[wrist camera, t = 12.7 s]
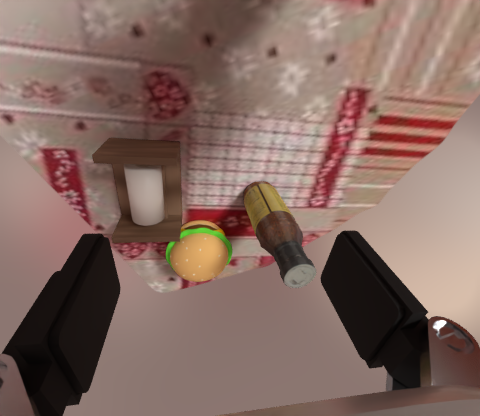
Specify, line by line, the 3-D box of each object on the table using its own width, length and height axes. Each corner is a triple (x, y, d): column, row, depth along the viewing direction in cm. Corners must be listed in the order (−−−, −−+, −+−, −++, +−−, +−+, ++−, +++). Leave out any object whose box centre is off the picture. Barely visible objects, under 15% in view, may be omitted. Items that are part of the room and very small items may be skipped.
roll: (129, 156, 36) (118, 169, 32) (163, 158, 37) (157, 171, 33) (136, 208, 41) (128, 225, 37) (167, 209, 42) (162, 226, 38)
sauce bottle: (246, 212, 46) (273, 302, 30) (238, 184, 43) (264, 269, 26) (279, 202, 46) (324, 287, 30) (274, 174, 43) (322, 252, 26)
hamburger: (169, 260, 50) (164, 295, 43) (167, 212, 44) (160, 244, 37) (226, 259, 52) (231, 293, 45) (232, 214, 46) (238, 244, 39)
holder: (109, 137, 35) (92, 155, 30) (179, 141, 37) (176, 158, 31) (124, 216, 43) (112, 242, 37) (182, 216, 45) (179, 241, 39)
